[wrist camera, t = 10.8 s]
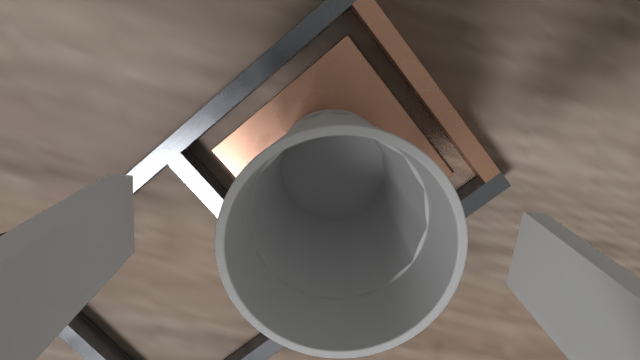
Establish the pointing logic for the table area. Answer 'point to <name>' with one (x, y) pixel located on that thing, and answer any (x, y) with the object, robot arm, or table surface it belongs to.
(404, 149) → the cup
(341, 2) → the two-slot metal tray
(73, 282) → the robot arm
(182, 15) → the table surface
